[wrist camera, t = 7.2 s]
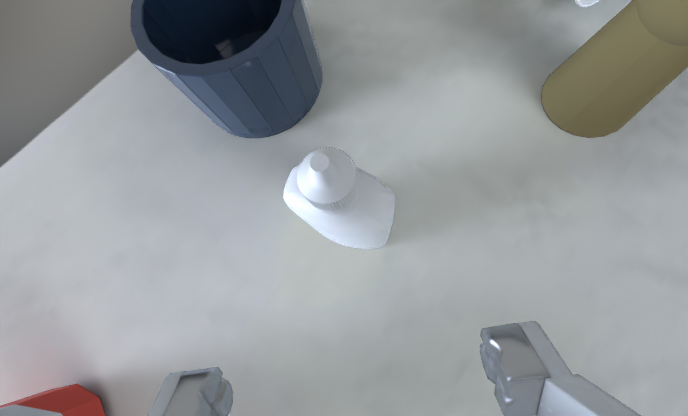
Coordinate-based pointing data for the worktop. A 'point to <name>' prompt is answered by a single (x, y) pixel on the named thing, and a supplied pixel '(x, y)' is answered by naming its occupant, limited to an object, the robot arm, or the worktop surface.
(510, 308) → the worktop surface
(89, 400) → the beverage can
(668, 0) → the olive pawn
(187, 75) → the dark blue round pot
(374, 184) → the eye dropper bottle
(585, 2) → the small white plastic part
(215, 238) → the worktop surface
